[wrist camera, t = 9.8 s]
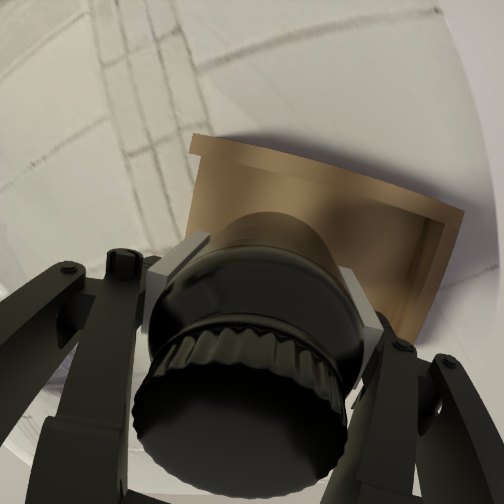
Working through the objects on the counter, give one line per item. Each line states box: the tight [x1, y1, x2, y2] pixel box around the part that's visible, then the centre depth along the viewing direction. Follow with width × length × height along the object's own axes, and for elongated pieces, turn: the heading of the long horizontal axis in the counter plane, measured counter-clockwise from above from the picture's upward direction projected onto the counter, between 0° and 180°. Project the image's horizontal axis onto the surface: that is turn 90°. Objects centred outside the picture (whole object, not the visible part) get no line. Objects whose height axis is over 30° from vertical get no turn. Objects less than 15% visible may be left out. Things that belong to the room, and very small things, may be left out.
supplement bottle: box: [131, 211, 364, 499], centre depth 12 cm, size 7×7×12 cm
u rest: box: [185, 133, 465, 345], centre depth 21 cm, size 17×12×4 cm
